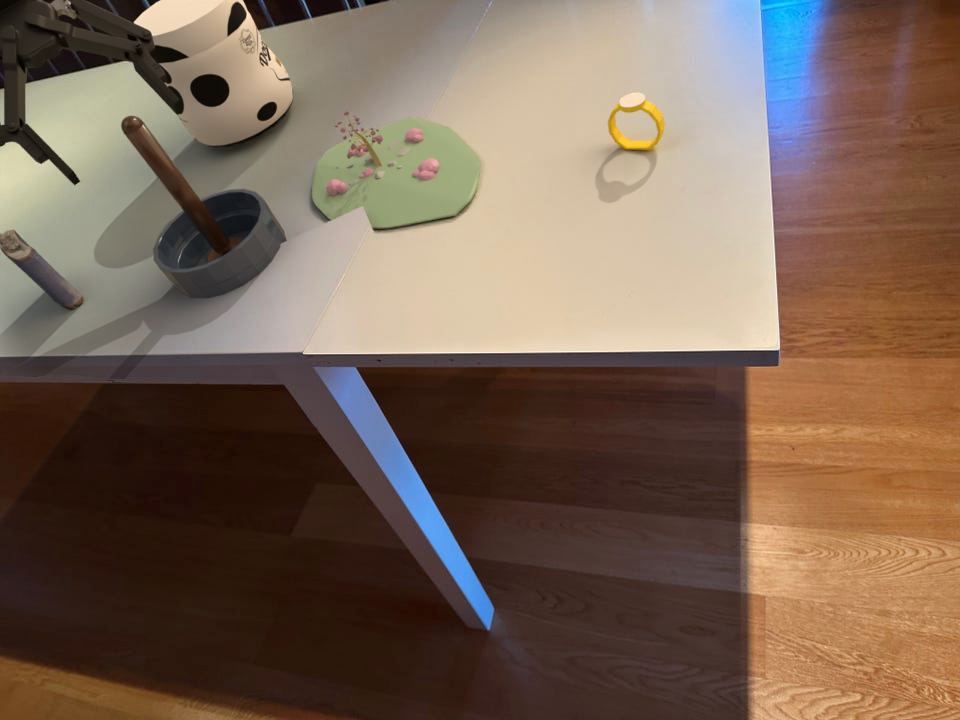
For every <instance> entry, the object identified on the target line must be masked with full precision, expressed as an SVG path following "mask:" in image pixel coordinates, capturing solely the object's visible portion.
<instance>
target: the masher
mask: <svg viewBox="0 0 960 720" xmlns="http://www.w3.org/2000/svg"><path fill="white" fill-rule="evenodd" d="M120 128H121V131H122V133H123V134H124V136H126V138H127V140H128V141H129V142H130V144H131V145H132V147H133V148H135V150H136V151H137V153H138V154H139V155H140V156H141V158H142V159H143V160H144V161H145V163H146V164H147V166H148V167H149V168H150V169H151V171H152V172H153V173H154V175H155V176H156V177H157V178H158V180H159V182H161V184H162V185H163V186H164V188H165V189H166V190H167V192H168V193H169V194H170V195H171V196H172V198H173V199H174V200H175V202H176V203H177V205H178V206H179V207H180V208H181V210H182V211H184V212H185V213H186V215H187V216H188V217H189V219H190V220H191V221H192V223H193V224H194V225H195V226H196V228H197V229H198V230H199V232H200V233H201V234H202V236H203V237H204V238H205V239H206V241H207V242H208V243H209V245H210V246H211V247H212V251H211V252H210V254H209V256H208V263H209V262H212V261H214V260H216V259H218V258H220V257H222V256H224V255H225V254H227V253H228V252H229V251H231V250H232V249H234V248H235V247H237V246H238V245H239V244H240V243H241V242H242V241H243V240H244V239H242V238H239V237H234V238H230V239H229V238H228V237H227V235H226V234H225V233H224V231H223V230H222V229H221V227H220V226H219V225H218V223H217V222H216V220H215V219H214V218H213V216H212V215H211V214H210V212H209V211H208V209H207V208H206V207H205V205H204V204H203V203H202V201H201V198H200V197H199V196H198V194H197V193H196V191H195V190H194V189H193V187H192V186H191V185H190V183H189V182H188V181H187V179H186V178H185V177H184V175H183V174H182V173H181V171H180V170H179V168H178V167H177V165H176V164H175V163H174V161H173V160H172V158H170V156H169V155H168V153H167V152H166V150H165V149H164V148H163V147H162V145H161V144H160V142H159V141H158V139H157V138H156V137H155V136H154V134H153V133H152V132H151V130H150V129H149V127H148V126H147V125H146V123H145V122H144V121H143V120H142V119H141V118H140V117H138V116H136V115H128V116H125V117H124V118H123V119H122V121H121V123H120Z"/></svg>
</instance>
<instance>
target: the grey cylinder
mask: <svg viewBox="0 0 960 720" xmlns="http://www.w3.org/2000/svg"><path fill="white" fill-rule="evenodd" d="M0 250H1V252H2V253H3V254H4V255H5V256H6V257H7V259H9V260H10V261H11V262H12V263H13V264H15V265H16V266H17V267H18V268H19V269H20V270H21V271H22V272H23V273H24V274H25V275H26V276H28V277H29V278H30V279H31V280H32V281H33V282H34V283H35V284H36V285H37V286H38V287H39V288H40V289H42V290H43V292H44V293H46V294H47V295H48V296H49V297H50V298H51V299H52V300H53V301H54V303H55V302H56V303H57V304H58V305H60V306H61V307H62V308H65V309H67V310H75V309H78V308H79V305H81V304H82V303H84V296H83V294H82V293H81V292H80V291H78V290H77V289H76V288H75V287H74V286H73V285H72V284H71V283H69V282H68V280H66V278H64V276H62V275H61V274H60V273H59V272H58V271H57V270H56V269H55V268H54V267H53V266H52V265H51V264H50V263H49V262H48V261H47V260H46V259H45V258H44V257H43V256H42V255H41V254H40V253H39V252H38V251H37V249H35V248H34V247H33V246H31V245H29V243H28V242H27V241H25V240H24V239H23V238H22V237H21V236H20V234H19V233H18V232H17V231H16V230H14V229H11V230H9V229H8V230H6V231H4V232H0Z"/></svg>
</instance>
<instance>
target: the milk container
mask: <svg viewBox="0 0 960 720" xmlns="http://www.w3.org/2000/svg"><path fill="white" fill-rule="evenodd" d="M133 23H135V24H137V25H139V26H141V27H143V28H146V29H148V30H149V31H150V32H151V33H152V37H153V41H154V45H155V49H154V50H153V51H151V52H150V53H149V55H150V56H151V57H152V58H153V59H154V60H155V61H156V62H157V64H158V65H159V66H160V67H161V68H162V69H163V70H164V72H165V75H166V78H167V82H165V84H166V86H167V87H168V88H169V89H170V90H171V91H172V92H173V93H174V94H175V95H176V96H177V97H178V98H179V99H180V102H181V107H182V111H183V112H181V113H180V114H178V115H177V117H178V118H179V120H180V122H181V124H182V125H183V126H184V128H185V129H186V130H187V131H188V133H190V135H192V137H193V138H194V139H195V140H197V141H198V142H199V143H201V144H203V145H205V146H208V147H212V148H229V147H234V146H237V145H242V144H244V143H247V142H250V141H251V140H254V139H256V138H258V137H260V136H262V135H264V134H265V133H267V132H268V131H269V130H271V129H273V128H274V127H275V126H276V125H278V123H279V122H280V121H282V119H284V118H285V117H286V115H287V113H288V112H289V110H290V108H291V106H292V104H293V101H294V88H293V86H292V85H293V84H292V81H291V78H290V75H289V74H288V72H287V69H286V68H285V66H284V64H283V63H282V62H281V61H280V59H279V58H278V56H277V55H276V54H275V53H274V52H273V51H272V50H271V48H270V47H269V46H268V45H267V44H266V42H265V41H264V39H263V37H262V35H261V33H260V31H259V30H258V26H257V25H256V23H255V21H254V19H253V17H252V15H251V13H250V12H249V10H248V8H247V6H246V3H245V2H244V0H158V1H156V2H155V3H154V4H152V5H150V7H148V8H147V9H145V10H144V11H143V12H142V13H141V14H140V15H139V16H138V17H137V18H136V19H135V20H134V21H133Z"/></svg>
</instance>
